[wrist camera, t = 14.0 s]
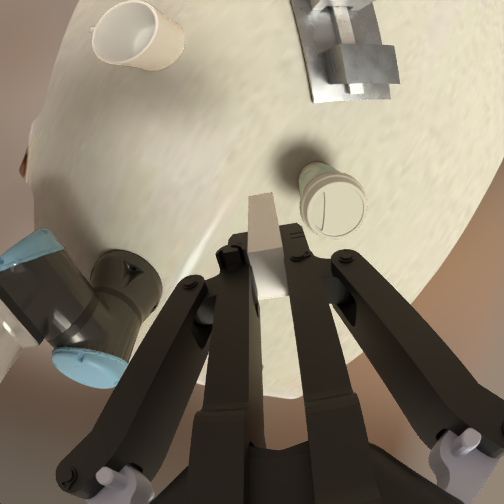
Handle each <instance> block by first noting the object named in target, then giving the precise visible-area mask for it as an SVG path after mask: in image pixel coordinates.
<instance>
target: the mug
mask: <svg viewBox="0 0 504 504" xmlns="http://www.w3.org/2000/svg"><path fill="white" fill-rule="evenodd" d="M88 32H89V33H92V34H93V35H92V47H93V50H94V53H95V54H96V56H97V57H98V58H99V59H100V60H102V61H103V62H105V63H108V64H114V65H123V66H131V67H138V68H141V69H143V70H147V71H158V70H162V69H164V68H167V67H169V66H170V65H172V64H173V63H174V62H175V61H176V60H177V59H178V58H179V57H180V55H181V54H182V52H183V50H184V47H185V34H184V31H183V29H182V28H181V27H180V26H179V25H178V24H177V23H175V22H173V21H171V20H169V19H168V18H167V17H165V16H164V15H163V14H162V13H160V12H159V11H158V10H156V9H155V8H154V7H152V6H151V5H150V4H148V3H146V2H143V1H139V0H130V1H125V2H122V3H119V4H117V5H115V6H114V7H112V8H111V9H109V10H108V11H107V12H106V13H105V14H104V15H103V16H102V17H101V18H100V20H99V21H98V23H97V24H96V26H92V27H90V28H89V30H88Z"/></svg>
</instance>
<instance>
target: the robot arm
mask: <svg viewBox="0 0 504 504" xmlns="http://www.w3.org/2000/svg"><path fill="white" fill-rule="evenodd" d="M215 255H216V258H217V261H218V264H219V267H220V274H218V275H217V276H215V277H213V278H210V279H208V280H204V277H202V276H201V275H190V276H187V277H185V278H184V279H182V280H181V281H180V282H179V283H178V284H177V286H176V287H175V289H174V290H173V292H172V294H171V295H170V297H169V298H168V300H167V302H166V303H165V305H164V306H163V308H162V310H161V311H160V313H159V314H158V316H157V318H156V319H155V321H154V322H153V324H152V326H151V327H150V329H149V331H148V332H147V334H146V336H145V337H144V339H143V341H142V342H141V344H140V346H139V347H138V349H137V351H136V352H135V354H134V356H133V358H132V359H131V361H130V363H129V360H130V356H131V353H132V350H133V347H134V344H135V341H136V338H137V335H138V332H139V329H140V327H141V324H142V323H143V322H144V321H145V319H146V318H147V317H148V316H149V315H150V314H151V313H152V312H153V311H154V310H155V309H156V308H157V306H158V304H159V302H160V299H161V296H162V283H161V280H160V277H159V275H158V274H157V272H156V271H155V269H154V268H153V267H152V266H151V265H150V264H149V263H148V262H147V261H145V260H144V259H143V258H141V257H139V256H137V255H135V254H133V253H130V252H127V251H119V250H116V251H110V252H107V253H105V254H103V255H102V256H101V257H100V258H99V259H98V261H97V262H96V263H95V265H94V266H93V269H92V271H91V277H90V283H89V282H88V281H87V280H86V278H85V277H84V276H83V275H82V273H81V272H80V271H79V269H78V268H77V267H76V265H75V264H74V262H73V261H72V260H71V258H70V257H69V255H68V254H67V252H66V251H65V248H64V246H62V245H61V244H60V243H59V242H58V240H57V239H56V238H55V236H54V235H53V234H52V232H51V231H50V230H48V229H46V228H40V229H38V230H36V231H34V232H33V233H31V234H30V235H28V236H27V237H25V238H24V239H22V240H21V241H20V242H18V243H17V244H15V245H14V246H13V247H11V248H10V249H9V250H7V251H6V252H5V253H4V254H3V255H1V256H0V383H1V381H2V379H3V378H4V376H5V375H6V373H7V372H8V370H9V369H10V367H11V366H12V364H13V363H14V361H15V360H16V359H17V357H18V356H19V354H20V353H21V351H22V350H23V349H24V348H26V347H38V346H39V345H40V344H41V342H42V341H43V339H44V338H45V339H46V340H47V341H48V342H49V343H50V344H51V345H52V346H53V348H54V350H53V351H52V357H51V358H52V362H53V363H54V365H55V367H56V368H57V369H58V370H59V371H61V372H62V373H63V374H65V375H66V376H67V377H69V378H71V379H73V380H75V381H77V382H79V383H82V384H84V385H87V386H90V387H95V388H102V389H105V388H106V389H107V388H112V387H115V386H116V387H115V389H114V391H113V393H112V394H111V396H110V398H109V400H108V402H107V404H106V406H105V407H104V409H103V411H102V413H101V414H100V416H99V418H98V420H97V422H96V424H95V426H94V428H93V430H92V431H91V432H90V433H89V434H88V435H87V437H85V438H84V439H83V440H82V441H81V442H80V443H79V444H78V445H77V446H76V447H75V448H74V449H73V450H72V451H71V452H70V453H69V454H68V455H67V456H66V457H65V458H64V459H63V460H62V461H61V462H60V463H59V465H58V467H57V469H56V481H57V483H58V485H59V487H60V488H61V489H62V490H63V491H65V492H68V493H70V494H72V495H75V496H77V497H80V498H82V499H84V500H85V501H86V502H87V503H88V504H147V503H148V501H149V500H151V499H152V498H153V497H154V490H153V489H152V486H151V484H150V482H151V481H152V479H153V478H154V477H155V475H156V474H157V472H158V471H159V469H160V467H161V465H162V463H163V461H164V459H165V457H166V455H167V452H168V450H169V447H170V445H171V442H172V440H173V437H174V435H175V433H176V430H177V428H178V425H179V423H180V421H181V418H182V416H183V413H184V411H185V408H186V406H187V403H188V401H189V399H190V396H191V394H192V391H193V389H194V386H195V384H196V382H197V379H198V377H199V375H200V372H201V370H202V367H203V365H204V362H205V360H206V358H207V355H208V353H209V357H208V365H207V374H206V383H205V391H204V401H203V407H202V409H201V410H200V411H198V412H197V413H196V414H195V417H194V421H193V429H192V438H191V447H190V457H189V466H187V467H186V468H185V469H184V470H183V471H182V472H181V473H180V474H179V475H178V476H177V477H176V478H175V479H174V480H173V481H172V482H171V483H170V484H169V485H168V486H167V487H166V488H165V489H164V490H163V491H162V492H161V493H160V494H159V495H158V496H157V497H156V498H155V499H154V500H152V501H151V502H150V503H149V504H471V502H472V501H473V499H474V498H475V497H476V496H477V494H478V493H479V491H480V490H481V488H482V487H483V485H484V484H485V482H486V481H487V479H488V477H489V476H490V474H491V473H492V471H493V470H494V468H495V466H496V464H497V463H498V461H499V459H500V458H501V457H502V456H503V455H504V400H503V399H501V398H500V397H498V396H497V395H495V394H493V393H492V392H491V391H489V390H487V389H486V388H484V387H482V386H481V385H480V384H478V383H477V381H476V380H475V379H474V377H473V376H472V375H471V374H470V372H469V371H468V370H467V369H466V367H465V366H464V365H463V364H462V362H461V361H460V360H459V359H458V358H457V357H456V355H455V354H454V353H453V352H452V351H451V349H450V348H449V347H448V346H447V345H446V344H445V342H444V341H443V340H442V339H441V338H440V337H439V336H438V334H437V333H436V332H435V331H434V330H433V329H432V328H431V327H430V325H429V324H428V323H427V322H426V321H425V320H424V319H423V318H422V317H421V316H420V315H419V313H418V312H417V311H416V310H415V309H414V308H413V307H412V306H411V305H410V304H409V303H408V302H407V301H406V300H405V299H404V298H403V297H402V295H401V294H400V293H399V292H398V291H397V290H396V289H395V288H394V287H393V286H392V285H391V284H390V283H389V282H388V281H387V280H386V279H385V278H384V277H383V276H382V275H381V274H380V273H379V272H378V271H377V270H376V269H375V268H374V267H373V266H372V265H371V264H370V263H369V262H368V261H367V260H365V259H364V258H363V257H362V256H361V255H360V254H359V253H358V252H356V251H354V250H350V249H343V250H339V251H337V252H334V254H333V255H332V256H331V259H324V258H318V257H316V256H314V255H313V253H312V252H311V251H310V250H309V247H308V244H307V241H306V238H305V235H304V232H303V229H302V226H300V225H299V224H298V223H293V224H287V225H281V226H279V225H278V219H277V214H276V209H275V204H274V199H273V194H272V192H271V193H265V194H259V195H254V196H249V206H248V232H244V233H238V234H233V235H232V236H231V237H230V239H229V241H228V245H226V246H224V247H222V248H220V249H219V250H218V251H217V252H216V254H215ZM288 295H289V297H290V304H291V310H292V317H293V324H294V330H295V337H296V345H297V352H298V359H299V366H300V374H301V382H302V390H303V398H304V406H305V414H306V423H307V431H308V441H306V442H303V443H300V444H298V445H295V446H292V447H290V448H287V449H284V450H270V449H266V443H265V437H264V414H263V384H262V355H261V327H260V307H259V303H258V298H259V300H263V299H269V298H276V297H282V296H288ZM329 303H330V304H332V305H333V308H334V309H335V311H336V312H337V313H338V315H339V316H340V318H341V319H342V321H343V322H344V324H345V325H346V326H347V328H348V329H349V331H350V332H351V334H352V335H353V337H354V338H355V340H356V341H357V343H358V344H359V346H360V347H361V349H362V350H363V352H364V353H365V354H366V356H367V357H368V359H369V360H370V362H371V364H372V365H373V367H374V368H375V370H376V371H377V373H378V374H379V376H380V377H381V379H382V380H383V382H384V383H385V385H386V386H387V388H388V390H389V391H390V393H391V394H392V396H393V397H394V399H395V400H396V402H397V403H398V405H399V407H400V408H401V410H402V411H403V413H404V415H405V416H406V418H407V419H408V421H409V423H410V424H411V426H412V428H413V429H414V430H415V432H416V433H417V435H418V436H419V438H420V439H421V440H422V441H423V442H424V443H425V444H426V445H427V446H428V448H430V449H431V451H430V454H429V466H430V468H431V469H432V471H433V472H434V473H435V475H436V478H437V485H435V484H433V483H432V482H430V481H429V480H427V479H426V478H424V477H422V476H421V475H419V474H418V473H416V472H415V471H413V470H412V469H410V468H409V467H407V466H406V465H405V464H403V463H402V462H400V461H399V460H397V459H396V458H394V457H393V456H392V455H390V454H389V453H387V452H386V451H385V450H383V449H382V448H380V447H378V446H376V445H374V444H372V443H369V442H368V437H367V433H366V428H365V424H364V419H363V415H362V411H361V407H360V403H359V399H358V397H357V394H356V393H354V392H353V390H352V387H351V384H350V379H349V375H348V371H347V367H346V363H345V360H344V356H343V352H342V348H341V345H340V341H339V337H338V334H337V330H336V327H335V323H334V320H333V316H332V313H331V309H330V306H329ZM128 363H129V364H128ZM0 504H1V503H0Z"/></svg>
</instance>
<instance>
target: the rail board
mask: <svg viewBox="0 0 504 504" xmlns="http://www.w3.org/2000/svg"><path fill="white" fill-rule="evenodd" d="M291 4H292V7H293V11H294V15H295V19H296V23H297V27H298V32H299V36H300V40H301V45H302V49H303V54H304V59H305V64H306V69H307V74H308V79H309V84H310V90H311V96H312V102H313V103H319V102H331V101H345V100H366V99H391V98H390V90H389V83H391V84H400V80H399V73H398V66H397V60H396V54H395V49H394V46H391V45H382V41H381V36H380V32H379V27H378V23H377V19H376V15H375V11H374V7H373V4H372V3H370V4H369V5H367V6H365V7H364V8H362V9H360V10H349V6H326V7H325V8H324V9H323V10H312V6H311V3H310V0H291Z"/></svg>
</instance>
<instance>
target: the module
mask: <svg viewBox="0 0 504 504" xmlns="http://www.w3.org/2000/svg"><path fill="white" fill-rule="evenodd" d="M373 1H375V0H310V3H311V6H312V10H323V9H324V8H325V7H326V6H349V10H360V9H362V8H364V7H365V6H367V5H369V4H370V3H372V2H373Z"/></svg>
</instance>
